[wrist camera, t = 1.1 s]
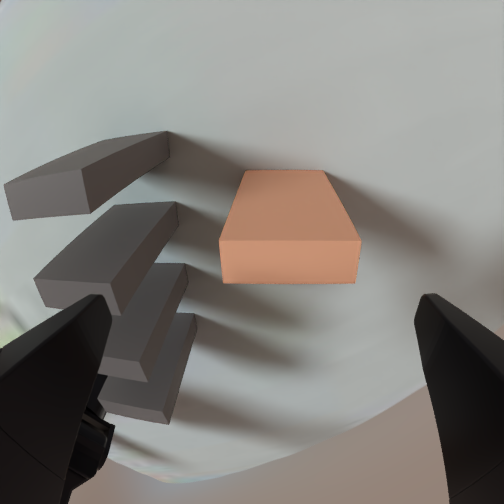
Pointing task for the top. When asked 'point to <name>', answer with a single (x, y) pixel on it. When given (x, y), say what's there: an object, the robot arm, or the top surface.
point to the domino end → (288, 231)
